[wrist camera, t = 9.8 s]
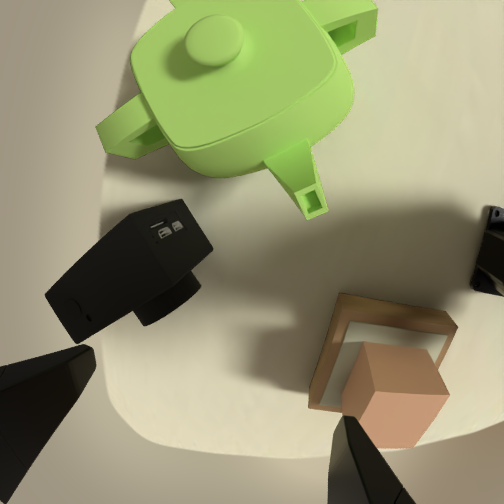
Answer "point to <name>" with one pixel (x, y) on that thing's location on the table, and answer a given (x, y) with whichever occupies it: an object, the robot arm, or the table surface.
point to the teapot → (244, 88)
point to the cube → (394, 393)
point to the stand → (373, 340)
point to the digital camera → (132, 271)
